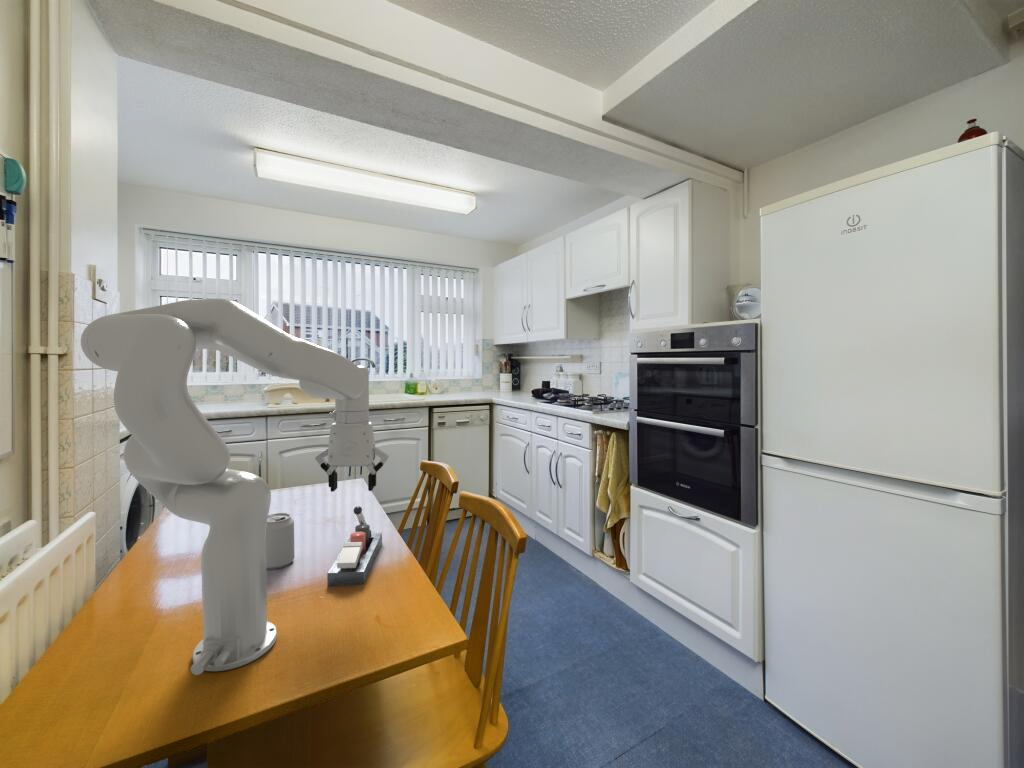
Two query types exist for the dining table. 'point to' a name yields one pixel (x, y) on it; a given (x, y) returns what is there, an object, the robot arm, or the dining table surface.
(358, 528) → the button
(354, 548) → the block
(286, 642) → the dining table surface
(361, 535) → the button
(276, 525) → the can
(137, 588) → the dining table surface
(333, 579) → the panel
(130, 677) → the dining table surface
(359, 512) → the toggle
